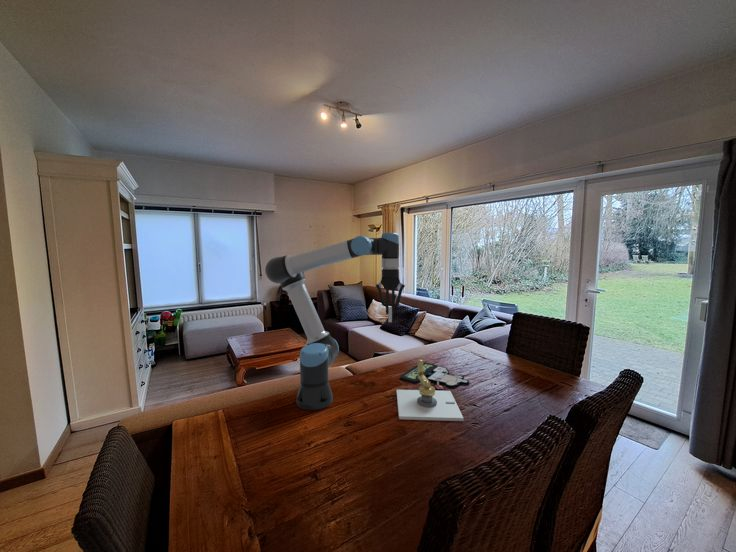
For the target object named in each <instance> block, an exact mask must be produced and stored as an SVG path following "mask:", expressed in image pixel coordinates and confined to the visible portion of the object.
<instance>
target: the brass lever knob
mask: <svg viewBox="0 0 736 552" xmlns="http://www.w3.org/2000/svg"><path fill="white" fill-rule="evenodd" d="M423 362H424V359H421V358H420V359H419V358H418V359H417V365H418V379H419V380H420V381H421V382H420V383H422V384H421V385H420V386H419V387H418V390H419V393H420V394H421V395H423V396H427V397H431V396H434V395H435V388H434V387H433V386H434V385H431V382H430V381H429V380H428V379H427V377H425V376H424V374H423Z"/></svg>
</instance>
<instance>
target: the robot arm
mask: <svg viewBox="0 0 736 552" xmlns="http://www.w3.org/2000/svg"><path fill="white" fill-rule="evenodd" d="M361 256H381V268H382V269H381V279H380V282H378V283H376V284H375V287H376V289H377V290H378V294H379V300H380V303H381V306H383V307H385V315H387V318H388V320H387V321H388V323H392V322H393V315H395V311H396V310H395V308H396V307H398V306H400V301H401V297H402V293H403V290H404V288H405V286H406V285H405V284H404V283H402V282H401V281H400V269H399V267H400V235H399V234H398V233H397V232H382V233H381V237H368V236H366V235H357V236H356V237H354V238H350V239H347V240H344V241H340V242H337V243H333V244H330V245H325V246H324V247H320V248H316V249H312V250H309V251H306V252H301V253H299V254H295V255H290V254H287V255H283V256H275V257H272V258H271V259H269V260H268V261H267V263H266V265H265V269H264V271H265V272H264V273H265V275H266V277H267V279H268V280H269V281H271V282H272V283H274V284H280V287H281V289H282V290H283V291H285V292H286V293H287V294H288V296H289V299H290V302H291V303H292V305H293V309H294V310H295V313H296V315H297V318H298V319H299V322H300V324H301V326H302V328H303V331H304V333H305V335H306V338H307V340H306V342H305V344H306V345H304V346H303V347H302V348H301V350H300V352H299V358H298V359H299V375H300V376H299V377H300V380H299V381H300V385H299V389H298V392H297V395H296V406H297V407H298V408H299V409H302V410H305V411H319V410H322V409H325V408H327V407H328V406H330V405H332V403H333V401H334V400H333V399H334V398H333V397H334V396H333V392H332V389H331V386H330V383H329V368H330V367H331V366H332V364H333V363H334V362H335V361H336V359H337V358H338V355H339V351H340V348H339V347H340V346H339V344H338V341H337V340H336V339H335V338H333V337H332V336H331V334H330V332H329V331H326V330H325V328H324V326H323V324H322V321H321V319H320V316H319V315H318V312H317V310H316V308H315V305H314V302H313V301H312V298H311V297H310V296H311V295H310V294H309V291H308V289H307V287H306V284H305V283H306V280H307V278H306V277H305V272H309V271H312V270H315V269H319V268H323V267H327V266H330V265H334V264H337V263H341V262H343V261H344V262H345V261H347V260H351V259H355V258H359V257H361ZM382 287H383V288H384V289H385V300H384V296H383V290H382ZM397 287H398V288H399V289H398V293H397V297H396V301H395V293H396V292H395V290H396V289H397ZM389 290H390V291H391V306H390V305H389V303H390V302H389V301H390V299H389V295H390V293H389Z"/></svg>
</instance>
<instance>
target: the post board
mask: <svg viewBox="0 0 736 552" xmlns="http://www.w3.org/2000/svg"><path fill="white" fill-rule="evenodd" d="M396 399H397V412H398V420H410V421H413V420H415V421H444V422H445V421H447V422H448V421H449V422H464V420H465V419H464V416H463V414H462V412H461V410H460V408H459V406H458V403H457V402H456V399H455V397H454V395H453V393H452V392H451V390H447V391H436V390H435V395H434V396H431V397H427V396H423V395H421V394H420V393H419V389H396Z"/></svg>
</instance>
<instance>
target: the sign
mask: <svg viewBox="0 0 736 552" xmlns="http://www.w3.org/2000/svg"><path fill="white" fill-rule="evenodd" d="M423 374H424V376H425V377H426V378H427V379H428V380H429V381H430V383H432V384H433V385H432V386H433V387H434V388H435V390H436V391H448V389H457V388H458V387H460V386H469V385H470V380H468V379H465V377H464V376H463V375H461V374H450V371H449V369H448V367H443V366H441V365H437V364H434V363H429V362H426V361H423ZM399 379H400V381H403V382H407V383H410V384H414V385H415V384H416V385H417V384H419V383H422V382H421V381H420V380H419V379H418V364H416V365H414V366H413V367H411V368H410V369H409V370H407V371H405V372H403V373H402V374H401V375H399ZM446 388H448V389H446Z"/></svg>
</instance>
